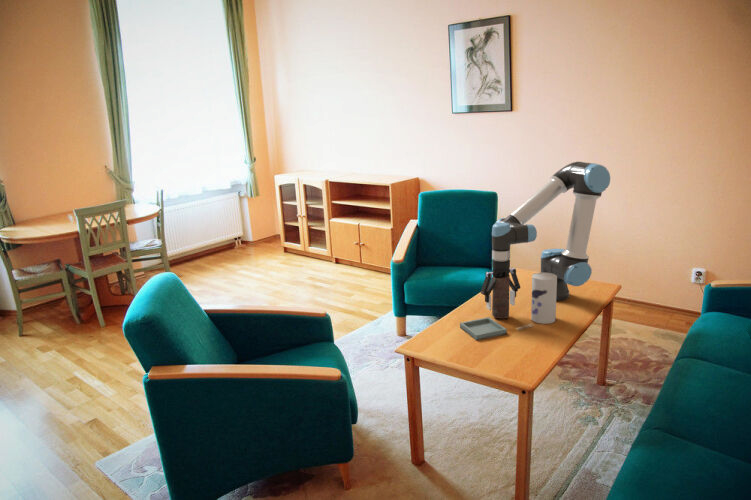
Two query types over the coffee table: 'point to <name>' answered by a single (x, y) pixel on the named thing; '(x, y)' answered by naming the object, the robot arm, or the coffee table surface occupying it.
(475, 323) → the dish
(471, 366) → the coffee table surface
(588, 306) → the coffee table surface
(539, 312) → the container
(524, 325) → the beige wooden bar
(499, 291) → the dark brown cylinder
